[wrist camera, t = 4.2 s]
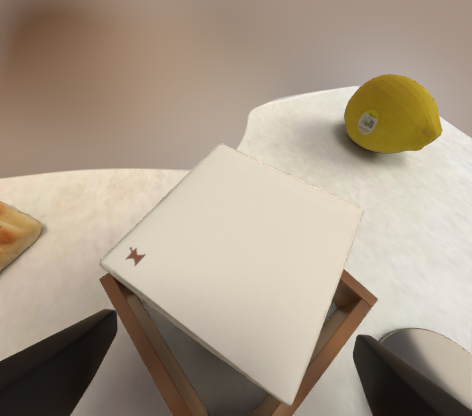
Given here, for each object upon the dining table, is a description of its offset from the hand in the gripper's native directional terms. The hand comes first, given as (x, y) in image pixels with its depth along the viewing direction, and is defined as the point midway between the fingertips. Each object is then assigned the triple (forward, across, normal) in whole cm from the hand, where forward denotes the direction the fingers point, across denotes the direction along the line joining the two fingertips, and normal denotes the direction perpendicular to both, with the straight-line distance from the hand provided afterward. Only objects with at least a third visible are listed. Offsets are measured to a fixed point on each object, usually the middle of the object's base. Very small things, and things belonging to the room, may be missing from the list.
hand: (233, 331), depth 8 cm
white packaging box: (+10, 0, +5) cm, 11 cm away
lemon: (+24, -16, -9) cm, 31 cm away
